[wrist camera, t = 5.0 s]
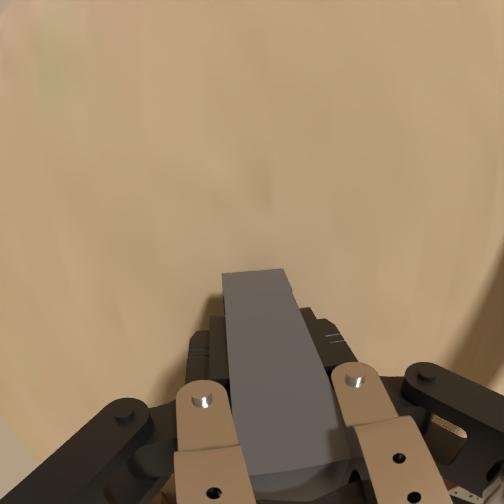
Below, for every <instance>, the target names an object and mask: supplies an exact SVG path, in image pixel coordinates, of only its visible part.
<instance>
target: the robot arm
mask: <svg viewBox="0 0 504 504" xmlns="http://www.w3.org/2000/svg"><path fill="white" fill-rule="evenodd" d="M299 310H300V312H301V314H302V317H303V319H304V321H305V324H306V326H307V328H308V331H309V333H310V336H311V338H312V340H313V343H314V345H315V347H316V350H317V352H318V354H319V357H320V359H321V362H322V364H323V366H324V369H325V371H326V374H327V376H328V378H329V381H330V383H331V386H332V388H333V390H334V394H335V397H336V401H337V405H338V409H339V413H340V417H341V420H342V424H343V428H344V432H345V436H346V440H347V444H348V448H349V453H350V457H351V459H350V461H349V464H348V467H347V469H346V472H345V474H344V476H343V479H342V481H341V484H340V486H339V488H338V489H336V490H334V491H332V492H330V493H328V494H326V495H323V496H321V497H319V498H317V499H314V500H312V501H280V500H265V499H261V500H255V497H254V493H253V490H252V486H251V483H250V479H249V475H248V471H247V468H246V464H245V460H244V456H243V452H242V449H241V445H240V444H239V443H238V439H237V435H236V431H235V426H234V422H233V416H232V404H231V391H230V378H229V364H228V349H227V334H226V317H225V316H212V317H210V330H206V331H196V333H195V334H194V335H193V336H192V337H191V339H190V343H189V351H188V360H187V369H186V379H185V385H184V386H183V387H182V388H181V389H180V390H179V391H178V393H177V395H176V399H175V400H174V401H172V402H170V403H167V404H164V405H161V406H157V407H153V408H149V409H148V407H147V405H146V404H145V403H144V402H143V401H141V400H138V399H135V398H121V399H117V400H115V401H112V402H111V403H109V404H108V405H107V406H105V407H104V408H103V409H102V410H101V411H100V412H99V413H98V414H97V415H95V416H94V417H93V418H92V419H91V420H90V421H89V422H88V423H87V424H85V425H84V426H83V427H82V428H81V429H80V430H79V431H78V432H77V433H75V434H74V435H73V436H72V437H71V438H70V439H69V440H68V441H66V442H65V443H64V444H63V445H62V446H61V447H60V448H59V449H57V450H56V451H55V452H54V453H53V454H52V455H51V456H50V457H48V458H47V459H46V460H45V461H44V462H43V463H42V464H41V465H39V466H38V467H37V468H36V469H35V470H34V471H33V472H31V474H29V475H28V476H27V477H26V478H25V479H23V481H21V482H20V483H19V484H18V485H17V486H15V487H14V488H13V489H12V490H11V491H10V492H9V493H7V494H6V495H5V496H4V497H3V498H2V499H0V504H149V503H150V502H151V501H152V499H153V498H154V497H155V496H156V494H157V493H158V492H159V491H160V489H161V488H162V487H163V486H164V484H165V483H166V482H167V480H168V479H169V478H170V476H171V474H172V473H175V485H176V498H177V504H474V503H472V502H469V501H466V500H463V499H461V498H458V497H456V496H453V495H450V494H449V493H448V491H447V488H446V486H445V484H444V482H443V479H442V477H444V478H445V479H447V480H449V481H451V482H452V483H454V484H456V485H458V486H460V487H461V488H463V489H465V490H467V491H469V492H471V493H473V494H474V495H476V496H478V497H480V498H482V499H483V504H504V396H503V395H501V394H499V393H496V392H494V391H492V390H490V389H488V388H486V387H483V386H481V385H479V384H477V383H475V382H472V381H470V380H468V379H466V378H464V377H462V376H460V375H457V374H455V373H453V372H451V371H449V370H447V369H445V368H443V367H440V366H438V365H436V364H433V363H429V362H418V363H415V364H412V365H410V366H409V367H408V368H407V370H406V372H405V375H404V377H384V376H379V375H378V373H377V371H376V370H375V369H374V368H373V367H371V366H369V365H367V364H365V363H360V362H358V360H357V359H356V357H355V356H354V354H353V352H352V351H351V349H350V348H349V346H348V345H347V343H346V341H344V338H343V337H342V335H341V334H340V332H339V330H338V329H337V327H336V326H335V324H333V323H331V322H330V321H328V320H327V319H325V318H324V319H316V317H315V315H314V313H313V312H312V310H311V308H310V307H307V308H299ZM434 415H437V416H439V417H441V418H443V419H445V420H447V421H449V422H450V423H452V424H454V425H456V426H458V427H460V428H462V429H463V430H464V431H465V432H466V434H467V438H462V437H459V436H458V435H456V434H454V433H452V432H450V431H448V430H446V429H445V428H443V427H441V426H439V425H437V424H435V423H433V422H432V419H433V417H434ZM441 476H442V477H441Z"/></svg>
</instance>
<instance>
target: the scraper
mask: <svg viewBox="0 0 504 504" xmlns="http://www.w3.org/2000/svg"><path fill="white" fill-rule="evenodd" d="M222 288H223V302H224V312H225V317H226V334H227V349H228V364H229V378H230V391H231V404H232V416H233V422H234V426H235V431H236V435H237V439H238V443H239V444H240V445H241V449H242V452H243V456H244V460H245V464H246V468H247V471H248V475H249V479H250V483H251V486H252V490H253V493H254V497H255V500H261V499H265V500H280V501H312V500H314V499H317V498H319V497H321V496H323V495H326V494H328V493H330V492H332V491H334V490H336V489H338V488H339V486H340V484H341V481H342V479H343V476H344V474H345V472H346V469H347V467H348V464H349V461H350V459H351V457H350V453H349V448H348V444H347V440H346V436H345V432H344V428H343V424H342V420H341V417H340V413H339V409H338V405H337V401H336V397H335V394H334V390H333V388H332V386H331V383H330V381H329V378H328V376H327V374H326V371H325V369H324V366H323V364H322V362H321V359H320V357H319V354H318V352H317V350H316V347H315V345H314V343H313V340H312V338H311V336H310V333H309V331H308V328H307V326H306V324H305V321H304V319H303V317H302V314H301V312H300V310H299V307H298V305H297V303H296V300H295V298H294V296H293V294H292V288H291V286H290V283H289V281H288V279H287V277H286V274H285V272H284V270H283V269H272V270H260V271H248V272H236V273H223V274H222Z"/></svg>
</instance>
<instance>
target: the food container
mask: <svg viewBox="0 0 504 504" xmlns="http://www.w3.org/2000/svg"><path fill="white" fill-rule="evenodd" d="M441 477H442V476H441ZM442 479H443V482H444V484H445V486H446V488H447V491H448V493H449V494H450V495H453V496H456V497H458V498H461V499H463V500H466V501H469V502H472V503H474V504H483V499H482V498H480V497H478V496H476V495H474V494H473V493H471V492H469V491H467V490H465V489H463V488H461V487H460V486H458V485H456V484H454V483H452V482H451V481H449V480H447V479H445V478H444V477H442Z"/></svg>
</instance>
